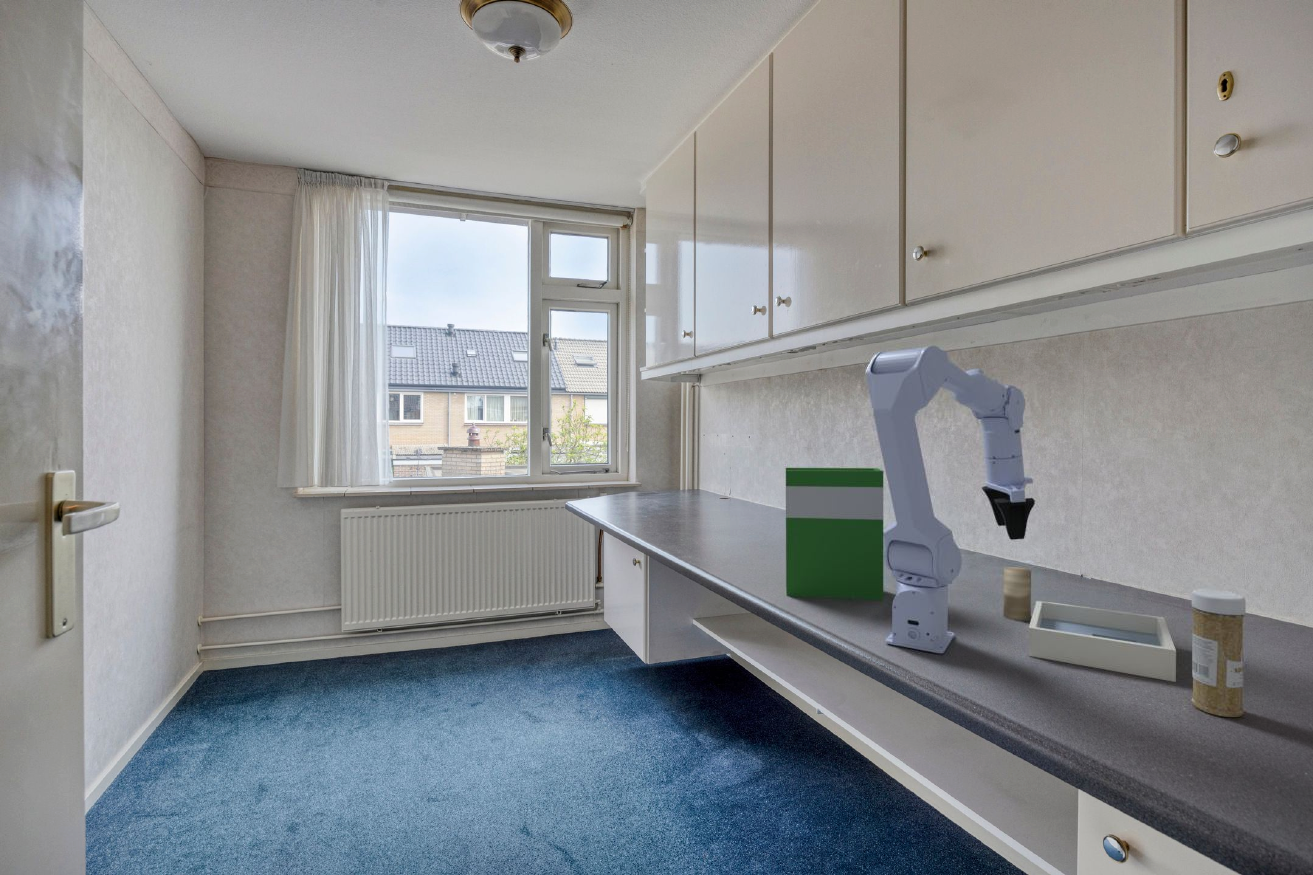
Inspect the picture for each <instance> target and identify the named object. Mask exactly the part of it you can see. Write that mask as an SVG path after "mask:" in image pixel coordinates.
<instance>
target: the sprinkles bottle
mask: <svg viewBox="0 0 1313 875" xmlns="http://www.w3.org/2000/svg"><path fill="white" fill-rule="evenodd" d="M1246 605H1247V604H1246V597H1245V596H1243V595H1241V594H1239V593H1235V592H1230V591H1227V590H1219V589H1211V588H1198V589H1194V590H1192V592H1191V606H1192V611H1193V614H1192V615H1193V620H1192V621H1193V625H1192V627H1193V628H1192V642H1191V643H1192V644H1191V645H1192V647H1191V649H1192V654H1191V658H1192V659H1191V666H1192V667H1191V670H1192V672H1191V673H1192V678H1193V679H1192V688H1193V689H1192V698H1191V704H1192V705H1193V706H1194V707H1196V708H1197V709H1199V710H1200V711H1203V712H1205V713H1207V714H1210V715H1216V716H1220V717H1224V718H1239V717H1242V716H1244V713H1245V711H1244V708H1243V697H1244V696H1243V694H1244V693H1243V691H1244V690H1243V687H1244V643H1243V638H1244V636H1243V635H1244V634H1243V633H1244V632H1243V630H1244V625H1243V624H1244V622H1243V621H1244V620H1243V619H1244V617H1245V614H1246V609H1247V608H1246Z"/></svg>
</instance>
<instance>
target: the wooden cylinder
mask: <svg viewBox="0 0 1313 875" xmlns="http://www.w3.org/2000/svg"><path fill="white" fill-rule="evenodd" d="M1002 612H1003V617H1004V618H1007V619H1009V620H1013V621H1020V622H1025V621H1026V622H1027V621H1031V618H1032V570H1030V569H1028V568H1024V567H1017V566H1016V567H1015V566H1014V567H1013V566H1006V567H1004V568H1003V610H1002Z"/></svg>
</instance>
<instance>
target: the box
mask: <svg viewBox="0 0 1313 875" xmlns="http://www.w3.org/2000/svg"><path fill="white" fill-rule="evenodd" d="M1028 656H1029V657H1034V658H1039V659H1045V660H1051V661H1055V662H1062V663H1068V664H1073V665H1078V666H1084V667H1091V668H1096V669H1099V670H1100V669H1101V670H1105V671H1111V672H1117V673H1123V674H1127V675H1128V674H1129V675H1135V676H1139V677H1140V676H1141V677H1145V678H1151V679H1155V680H1162V681H1167V682H1173V683H1176V680H1177V678H1176V676H1177V675H1176V674H1177V669H1176V668H1177V650H1176V647H1175V644H1174V641H1173V639H1172V636H1171V633H1170V631H1169V628H1168V625H1167V623H1166V620H1165V617H1163V616H1156V615H1148V614H1141V613H1133V612H1127V611H1118V610H1111V609H1105V608H1104V609H1103V608H1096V607H1089V606H1082V605H1075V604H1068V603H1067V604H1066V603H1060V602H1051V601H1045V600H1036V602H1035V605H1034V609H1033V612H1032V614H1031V620H1030V623H1029V626H1028Z"/></svg>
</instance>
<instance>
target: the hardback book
mask: <svg viewBox="0 0 1313 875" xmlns="http://www.w3.org/2000/svg"><path fill="white" fill-rule="evenodd" d="M883 534H884V471H883V470H882V469H880V468H878V467H785V585H786V586H785V588H786V589H785V590H786V593H785V594H786V596H788V597H807V598H809V597H810V598H828V599H829V598H830V599H832V598H833V599H851V600H852V599H853V600H854V599H855V600H876V601H884V535H883Z"/></svg>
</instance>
